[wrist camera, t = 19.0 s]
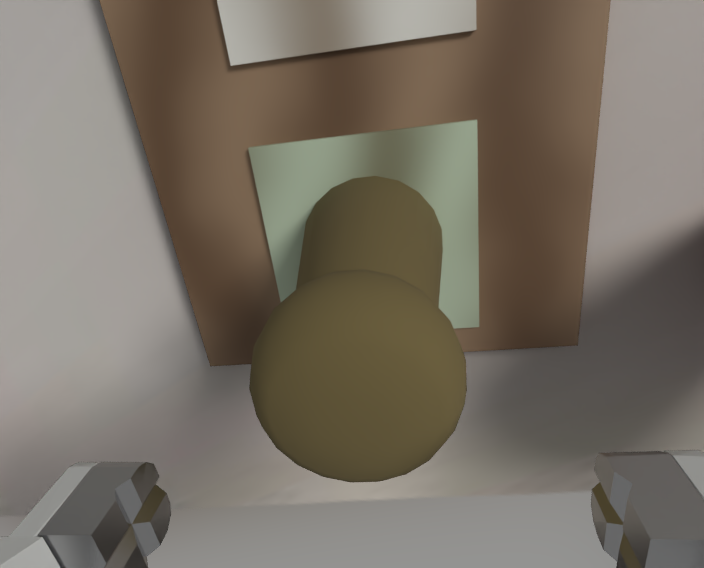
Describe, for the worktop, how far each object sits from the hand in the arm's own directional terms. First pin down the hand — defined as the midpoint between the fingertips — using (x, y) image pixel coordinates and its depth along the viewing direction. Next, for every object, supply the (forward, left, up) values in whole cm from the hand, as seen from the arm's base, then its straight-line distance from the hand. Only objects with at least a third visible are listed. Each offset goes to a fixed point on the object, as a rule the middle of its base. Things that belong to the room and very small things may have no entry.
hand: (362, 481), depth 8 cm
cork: (0, 0, -13) cm, 13 cm away
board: (0, -6, -14) cm, 15 cm away
